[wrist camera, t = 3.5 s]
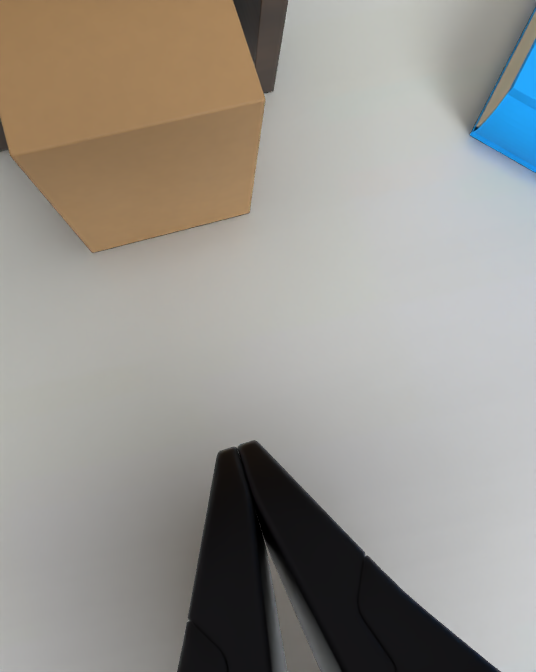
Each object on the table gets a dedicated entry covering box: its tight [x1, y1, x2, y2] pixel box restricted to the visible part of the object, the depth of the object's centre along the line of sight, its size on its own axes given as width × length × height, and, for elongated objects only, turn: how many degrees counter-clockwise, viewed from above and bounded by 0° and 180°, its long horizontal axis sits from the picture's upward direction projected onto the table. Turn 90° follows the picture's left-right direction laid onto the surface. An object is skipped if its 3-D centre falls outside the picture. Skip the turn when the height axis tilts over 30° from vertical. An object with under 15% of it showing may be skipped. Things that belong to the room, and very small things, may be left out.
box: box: [0, 0, 265, 253], centre depth 20 cm, size 10×8×9 cm
